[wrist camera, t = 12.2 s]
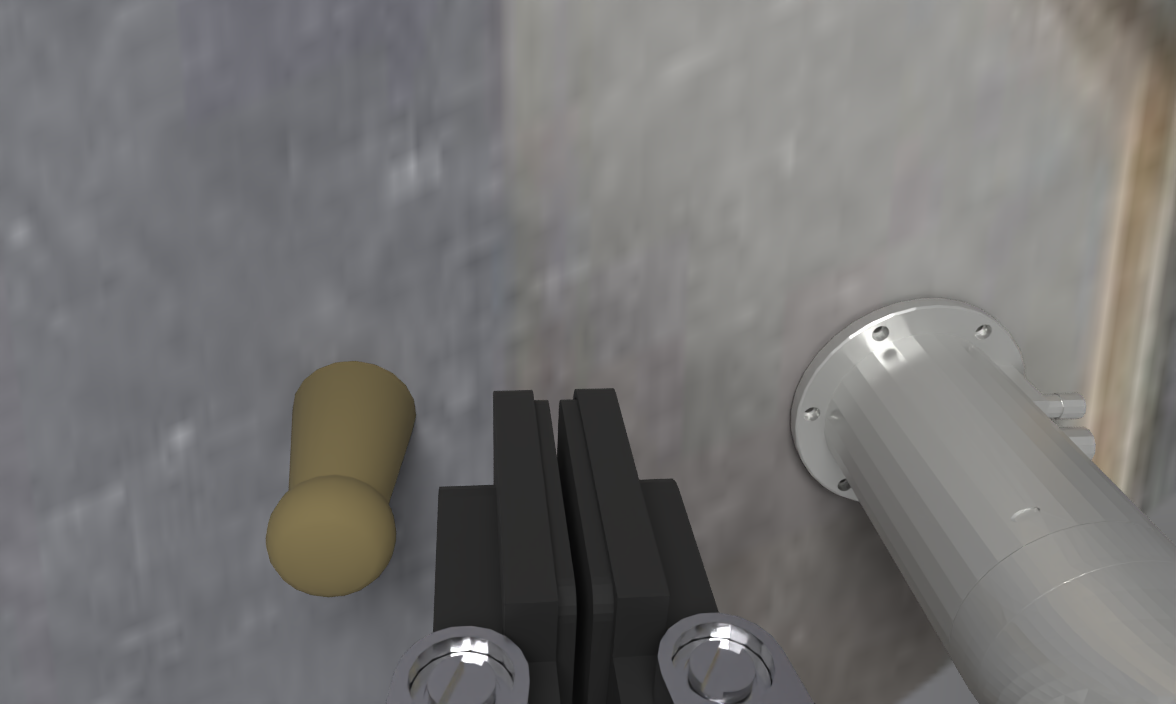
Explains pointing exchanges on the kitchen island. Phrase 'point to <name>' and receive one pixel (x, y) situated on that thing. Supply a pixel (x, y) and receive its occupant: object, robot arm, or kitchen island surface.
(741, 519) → the kitchen island surface
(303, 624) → the kitchen island surface
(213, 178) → the kitchen island surface
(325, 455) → the cork
